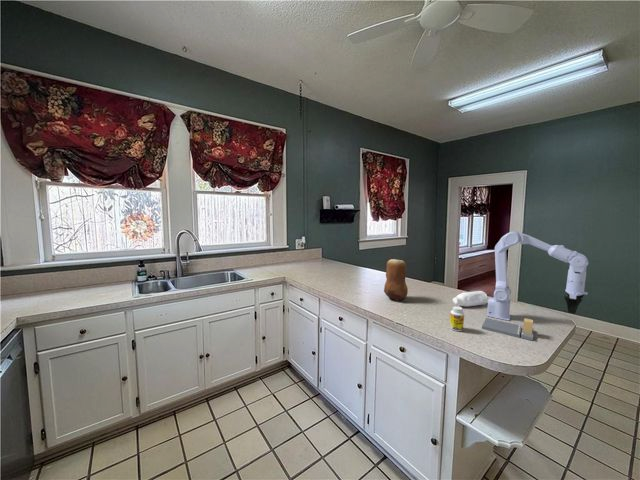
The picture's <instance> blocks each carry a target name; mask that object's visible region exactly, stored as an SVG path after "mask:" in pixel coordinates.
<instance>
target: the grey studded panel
mask: <svg viewBox="0 0 640 480" xmlns="http://www.w3.org/2000/svg"><path fill="white" fill-rule="evenodd" d="M481 329H483V330H486V331H490V332H494V333H497V334H498V333H499V334H502V335H506V336H511V337H514V338H519V339H521V333H522V325H520V324H515V323H510V322H506V321H502V320H497V319H492V318H489V317H486V318H485V319H484V321H483V323H482V326H481Z"/></svg>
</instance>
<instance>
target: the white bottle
mask: <svg viewBox="0 0 640 480" xmlns="http://www.w3.org/2000/svg"><path fill="white" fill-rule="evenodd" d="M452 302H453V303H454V304H455V306H457V307H465V308H468V307H469V308H470V307H476V306H485V305H486V304H488V296H487V293H486V292H484V291H482V290H476V291H475V290H473V291H468V292H461V293H459V294H457V296H456V297H453V298H452Z"/></svg>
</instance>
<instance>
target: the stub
mask: <svg viewBox="0 0 640 480" xmlns="http://www.w3.org/2000/svg"><path fill="white" fill-rule="evenodd" d="M533 324H534V320H533V319H530V318H525V317H524V319H523V325H521V333H520V339H521V338H522V339H525V340H529V341H534V331H535V328H534V326H533Z"/></svg>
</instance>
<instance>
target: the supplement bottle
mask: <svg viewBox="0 0 640 480" xmlns="http://www.w3.org/2000/svg"><path fill="white" fill-rule="evenodd" d="M449 315H450V317H449V318H450V319H449V328H450V329H451V330H452V331H454V332H463V330H464V326H465V325H464V322H465V313H464V312H463V307H462V306H456V305H455V306H453V307H452V310H450V314H449Z"/></svg>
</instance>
